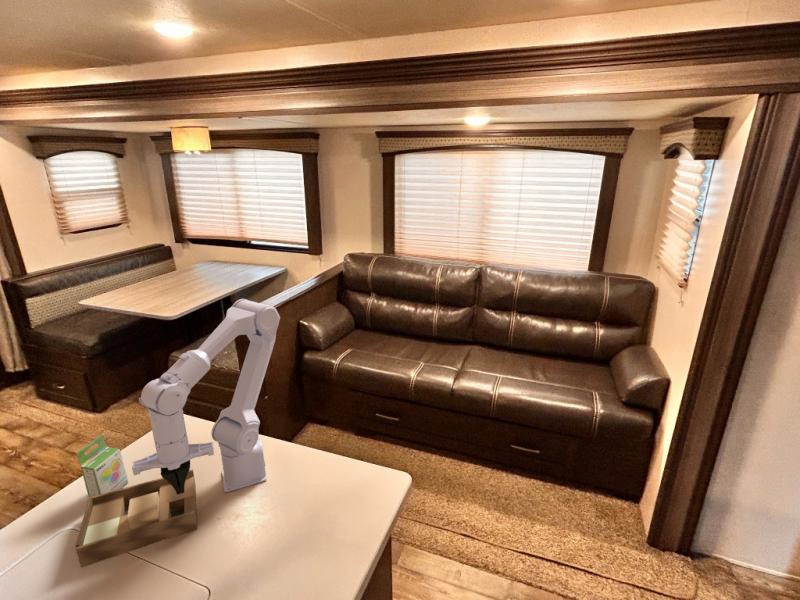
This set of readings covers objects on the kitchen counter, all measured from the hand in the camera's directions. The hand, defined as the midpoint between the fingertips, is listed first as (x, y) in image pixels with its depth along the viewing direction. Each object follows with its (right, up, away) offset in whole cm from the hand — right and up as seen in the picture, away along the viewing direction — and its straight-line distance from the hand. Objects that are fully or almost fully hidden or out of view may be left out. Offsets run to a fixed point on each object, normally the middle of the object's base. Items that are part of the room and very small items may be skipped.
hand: (180, 490), depth 87 cm
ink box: (-21, -5, +9) cm, 24 cm away
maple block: (-6, -5, -1) cm, 8 cm away
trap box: (-9, -7, +2) cm, 11 cm away
